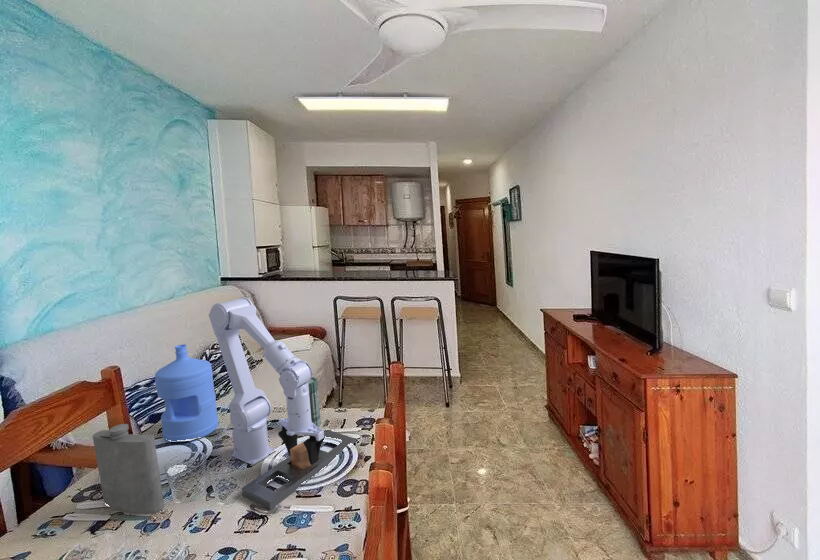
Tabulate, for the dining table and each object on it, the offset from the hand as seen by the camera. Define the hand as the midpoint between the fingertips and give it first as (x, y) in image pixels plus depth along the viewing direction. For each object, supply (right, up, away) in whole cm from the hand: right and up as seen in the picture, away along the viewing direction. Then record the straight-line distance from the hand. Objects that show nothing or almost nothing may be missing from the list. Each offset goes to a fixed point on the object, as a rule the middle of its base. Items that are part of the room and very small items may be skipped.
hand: (303, 458), depth 107 cm
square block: (0, -3, 0) cm, 3 cm away
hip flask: (-37, -6, -11) cm, 39 cm away
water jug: (-41, -2, +23) cm, 47 cm away
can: (-4, 0, +23) cm, 23 cm away
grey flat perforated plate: (0, -3, 0) cm, 3 cm away
